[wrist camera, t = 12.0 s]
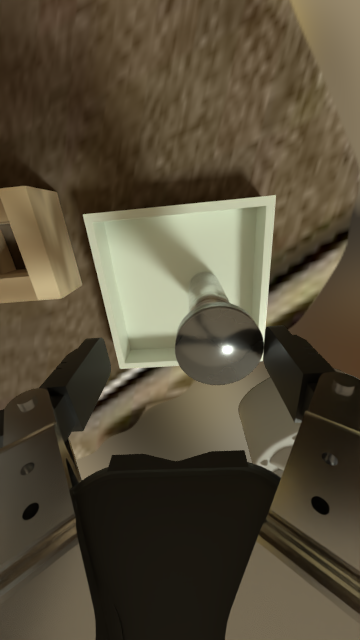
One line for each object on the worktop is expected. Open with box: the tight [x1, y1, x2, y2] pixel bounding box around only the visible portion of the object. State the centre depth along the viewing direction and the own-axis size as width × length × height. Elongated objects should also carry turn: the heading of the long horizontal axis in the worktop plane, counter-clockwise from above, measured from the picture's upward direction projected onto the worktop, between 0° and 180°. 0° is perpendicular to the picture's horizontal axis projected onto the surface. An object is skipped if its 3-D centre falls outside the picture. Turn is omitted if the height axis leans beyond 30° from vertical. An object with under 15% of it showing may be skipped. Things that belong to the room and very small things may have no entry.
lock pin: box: [175, 272, 264, 385], centre depth 16 cm, size 4×4×11 cm
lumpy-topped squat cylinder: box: [238, 368, 344, 477], centre depth 24 cm, size 10×13×9 cm
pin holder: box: [0, 186, 82, 303], centre depth 19 cm, size 8×8×4 cm
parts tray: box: [83, 195, 276, 369], centre depth 20 cm, size 14×14×3 cm
